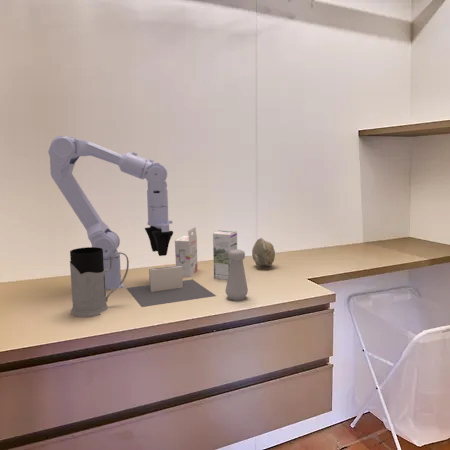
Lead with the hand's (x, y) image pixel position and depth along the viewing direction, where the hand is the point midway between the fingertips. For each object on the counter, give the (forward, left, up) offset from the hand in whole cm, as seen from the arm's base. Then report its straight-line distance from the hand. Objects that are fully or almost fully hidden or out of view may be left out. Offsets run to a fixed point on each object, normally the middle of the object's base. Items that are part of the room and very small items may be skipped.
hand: (159, 253), depth 129 cm
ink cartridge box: (+11, +8, -10) cm, 17 cm away
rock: (+37, +5, -10) cm, 39 cm away
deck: (0, -6, -9) cm, 11 cm away
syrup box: (+20, -2, -10) cm, 22 cm away
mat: (0, -9, -9) cm, 13 cm away
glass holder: (-19, -14, -10) cm, 25 cm away
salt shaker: (+14, -22, -10) cm, 28 cm away
